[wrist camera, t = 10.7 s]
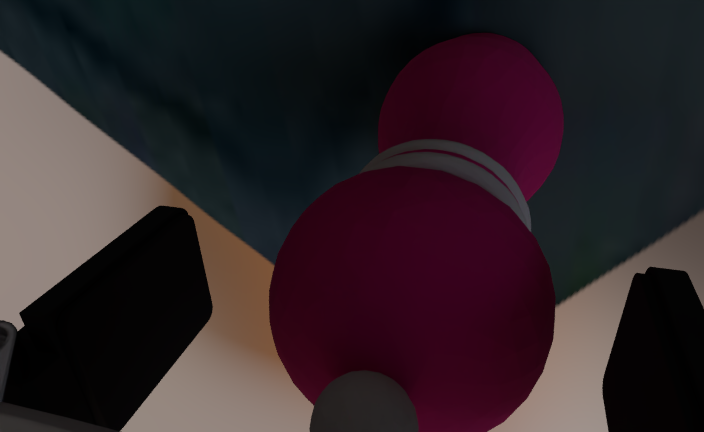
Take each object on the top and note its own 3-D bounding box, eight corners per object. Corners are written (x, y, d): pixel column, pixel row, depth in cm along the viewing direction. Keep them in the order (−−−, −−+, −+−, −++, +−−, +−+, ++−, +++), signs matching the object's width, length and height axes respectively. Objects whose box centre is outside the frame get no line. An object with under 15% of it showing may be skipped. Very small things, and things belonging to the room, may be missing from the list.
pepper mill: (520, 190, 26) (488, 668, 9) (387, 141, 27) (137, 493, 10) (589, 49, 22) (759, 437, 5) (430, -1, 23) (138, 186, 6)
